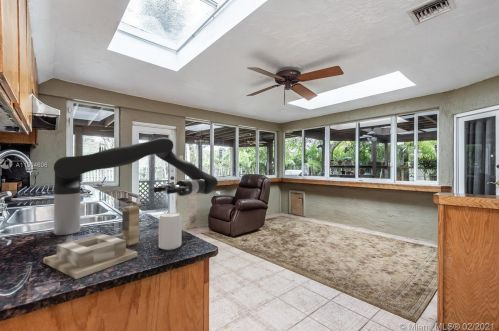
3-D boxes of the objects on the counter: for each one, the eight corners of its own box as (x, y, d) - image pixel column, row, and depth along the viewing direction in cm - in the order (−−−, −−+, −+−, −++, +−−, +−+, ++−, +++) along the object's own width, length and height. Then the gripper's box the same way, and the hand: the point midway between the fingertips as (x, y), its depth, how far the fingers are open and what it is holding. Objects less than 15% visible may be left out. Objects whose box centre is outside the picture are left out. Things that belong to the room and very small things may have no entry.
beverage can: (186, 245, 90) (186, 213, 90) (169, 252, 83) (169, 218, 83) (170, 241, 94) (170, 211, 94) (153, 248, 87) (153, 215, 86)
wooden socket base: (43, 262, 73) (43, 244, 73) (103, 245, 89) (103, 230, 89) (76, 279, 63) (76, 258, 63) (137, 256, 79) (137, 239, 79)
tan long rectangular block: (121, 244, 91) (121, 207, 90) (132, 240, 95) (132, 205, 94) (127, 245, 89) (128, 208, 88) (138, 242, 93) (139, 206, 92)
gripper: (177, 179, 121) (149, 181, 107) (198, 180, 114) (172, 182, 100) (177, 193, 121) (149, 197, 107) (198, 196, 114) (172, 200, 100)
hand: (160, 190), depth 104 cm, fingers open, 8 cm apart
